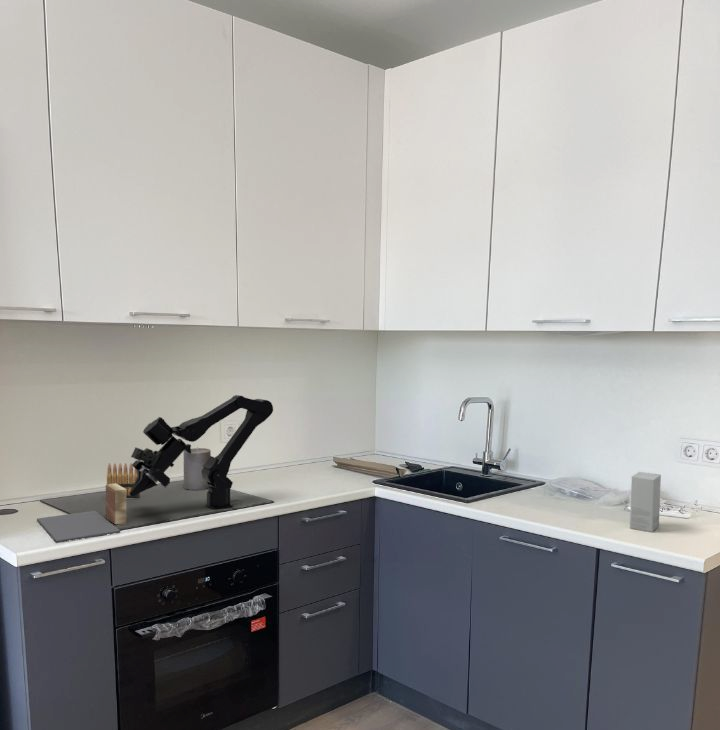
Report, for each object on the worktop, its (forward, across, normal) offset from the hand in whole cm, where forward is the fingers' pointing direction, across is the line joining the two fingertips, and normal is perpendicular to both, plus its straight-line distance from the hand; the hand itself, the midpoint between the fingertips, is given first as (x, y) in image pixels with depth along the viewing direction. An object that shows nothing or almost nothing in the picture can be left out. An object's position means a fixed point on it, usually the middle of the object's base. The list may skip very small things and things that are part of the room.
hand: (130, 495), depth 184 cm
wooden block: (+8, 0, +2) cm, 8 cm away
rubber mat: (+15, 0, -5) cm, 16 cm away
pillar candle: (-18, -29, +28) cm, 44 cm away
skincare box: (-79, +94, +89) cm, 152 cm away
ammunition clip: (+1, -27, +9) cm, 29 cm away
